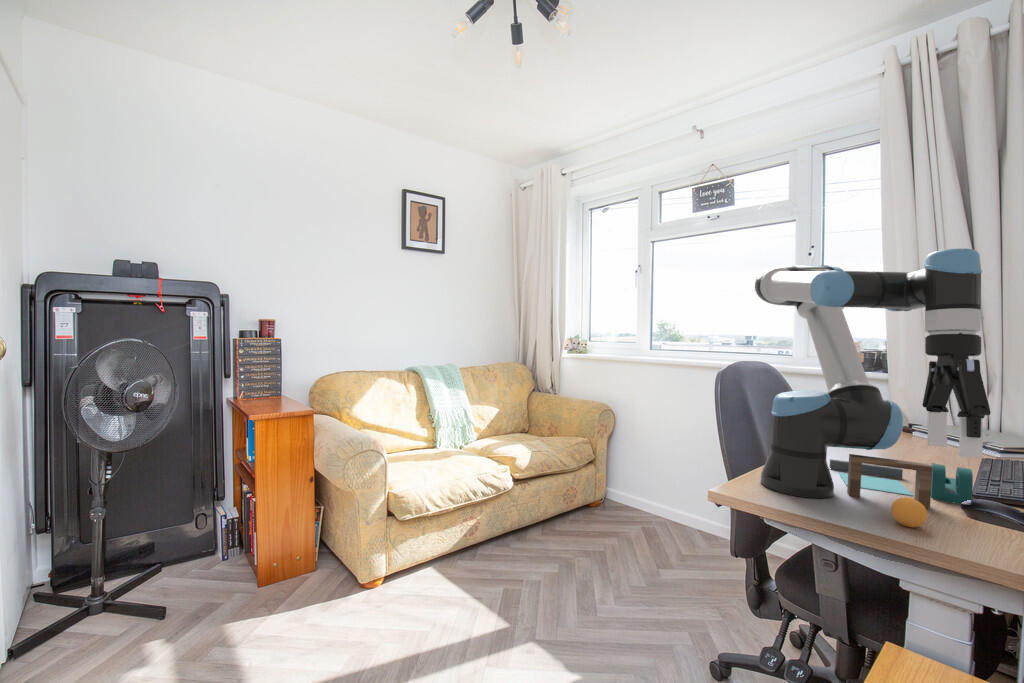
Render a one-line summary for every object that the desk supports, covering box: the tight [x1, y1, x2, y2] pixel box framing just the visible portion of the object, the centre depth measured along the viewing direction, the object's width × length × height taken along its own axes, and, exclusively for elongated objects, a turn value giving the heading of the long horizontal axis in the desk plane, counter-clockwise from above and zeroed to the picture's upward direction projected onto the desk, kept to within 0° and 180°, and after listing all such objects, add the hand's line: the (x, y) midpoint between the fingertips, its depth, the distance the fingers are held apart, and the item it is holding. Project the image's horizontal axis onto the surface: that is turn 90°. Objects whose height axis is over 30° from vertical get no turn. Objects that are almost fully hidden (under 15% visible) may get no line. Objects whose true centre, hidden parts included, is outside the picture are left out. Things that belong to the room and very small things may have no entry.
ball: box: [890, 497, 928, 528], centre depth 93 cm, size 6×6×6 cm
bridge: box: [846, 453, 932, 509], centre depth 108 cm, size 3×14×9 cm, turn 63°
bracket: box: [930, 462, 974, 505], centre depth 115 cm, size 18×7×8 cm, turn 141°
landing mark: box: [837, 471, 914, 497], centre depth 120 cm, size 13×13×1 cm
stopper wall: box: [829, 458, 904, 480], centre depth 130 cm, size 16×2×2 cm, turn 63°
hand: (952, 451), depth 85 cm, fingers open, 13 cm apart
